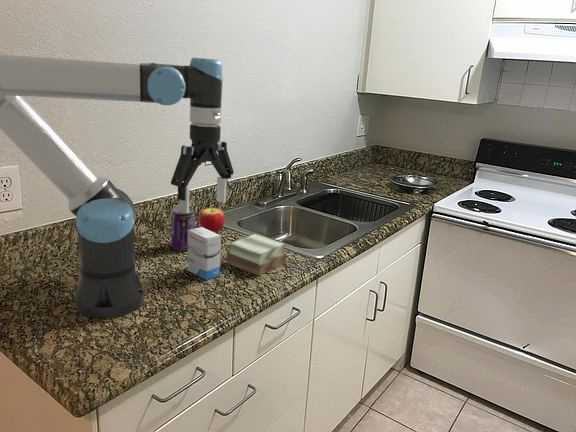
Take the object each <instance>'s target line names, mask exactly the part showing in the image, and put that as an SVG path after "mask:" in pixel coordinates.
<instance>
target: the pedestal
mask: <svg viewBox="0 0 576 432" xmlns="http://www.w3.org/2000/svg"><path fill="white" fill-rule="evenodd" d="M286 261H287V253H286V252H285V243H284V242H281V241H277V240H274V239H271V238H268V237H266V236H263V235H260V234H257V233H254V234H251V235H249V236H246V237H244V238H240V239H237V240H235V241H232V242H230V243H229V252H227V253H226V264H228V265H231V266H233V267H236V268H239V269H240V270H243V271H245V272H248V273H250V274H253V275H256V276H258V277H259V276H260V277H261V276H262V275H265V274H266V273H268V272H270V271H272V270H274V269H277V268H278V267H280V266H282V265H284V263H285V264H286Z"/></svg>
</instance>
